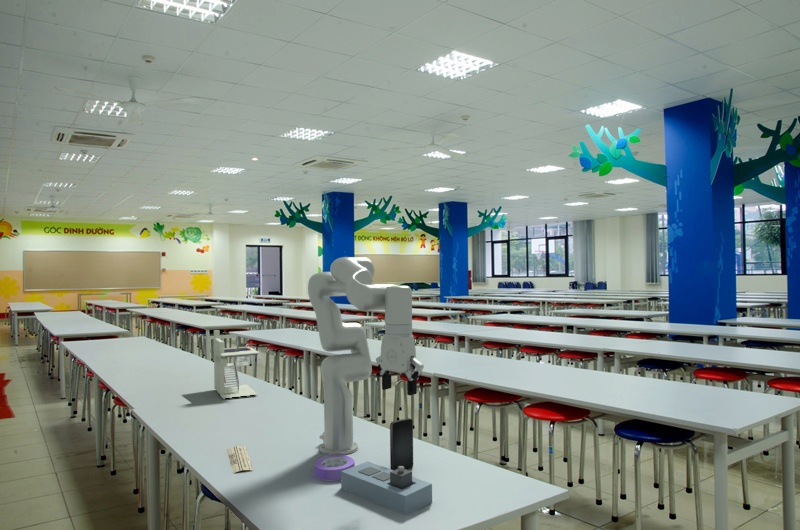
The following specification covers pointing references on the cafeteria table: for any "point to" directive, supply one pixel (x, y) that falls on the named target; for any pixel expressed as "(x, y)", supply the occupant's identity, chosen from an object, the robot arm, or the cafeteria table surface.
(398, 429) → the phone
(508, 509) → the cafeteria table surface
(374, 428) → the cafeteria table surface
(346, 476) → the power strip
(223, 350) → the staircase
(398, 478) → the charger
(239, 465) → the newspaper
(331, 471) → the masking tape
